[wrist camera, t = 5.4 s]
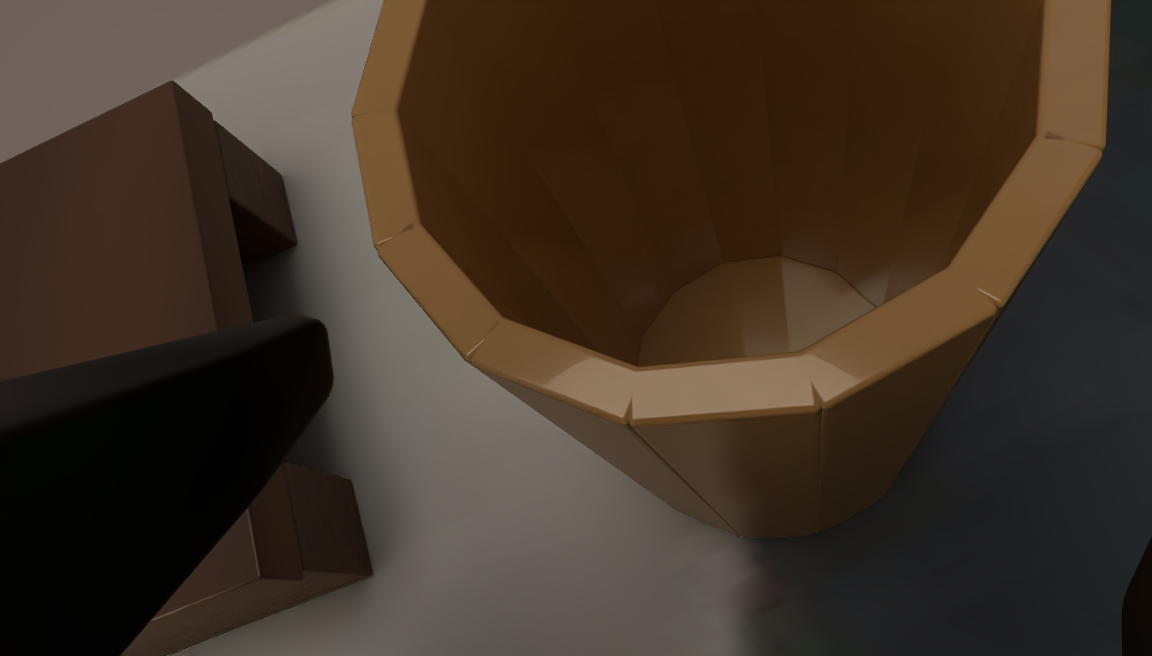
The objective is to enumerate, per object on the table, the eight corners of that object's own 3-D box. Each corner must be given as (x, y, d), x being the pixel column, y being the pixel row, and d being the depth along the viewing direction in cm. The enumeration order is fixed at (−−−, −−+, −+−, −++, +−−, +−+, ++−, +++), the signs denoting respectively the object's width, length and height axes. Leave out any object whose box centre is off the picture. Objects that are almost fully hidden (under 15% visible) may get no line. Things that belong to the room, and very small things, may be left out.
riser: (280, 167, 25) (172, 78, 20) (375, 584, 20) (262, 578, 16) (-67, 328, 26) (-233, 274, 22) (-50, 747, 22) (-253, 780, 18)
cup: (936, 258, 19) (1124, -273, 8) (908, 569, 17) (1096, 493, 6) (645, 235, 21) (443, -216, 10) (595, 512, 19) (274, 372, 8)
